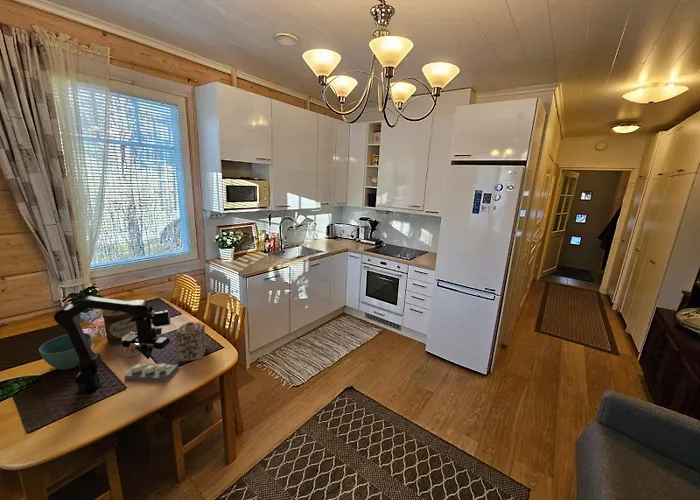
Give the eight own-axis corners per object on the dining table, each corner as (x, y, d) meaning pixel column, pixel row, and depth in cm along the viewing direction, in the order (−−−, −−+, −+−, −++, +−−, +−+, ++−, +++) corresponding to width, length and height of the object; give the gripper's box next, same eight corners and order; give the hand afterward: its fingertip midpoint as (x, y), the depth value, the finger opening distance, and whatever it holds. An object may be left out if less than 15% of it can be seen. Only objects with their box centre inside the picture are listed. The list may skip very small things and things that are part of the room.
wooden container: (114, 348, 160) (108, 311, 155) (102, 340, 167) (96, 304, 162) (144, 337, 172) (140, 302, 167) (132, 329, 180) (127, 295, 174)
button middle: (151, 377, 138) (150, 370, 137) (143, 376, 138) (142, 370, 137) (157, 371, 142) (156, 365, 141) (149, 371, 142) (148, 364, 141)
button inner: (138, 376, 138) (137, 369, 137) (130, 375, 138) (129, 369, 138) (144, 370, 142) (144, 364, 141) (136, 370, 142) (135, 364, 141)
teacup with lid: (124, 359, 152) (120, 338, 149) (123, 350, 158) (119, 331, 156) (152, 351, 159) (149, 331, 156) (149, 343, 166) (147, 324, 163)
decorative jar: (177, 362, 151) (173, 330, 147) (183, 349, 162) (180, 319, 158) (202, 359, 154) (200, 328, 150) (207, 347, 165) (204, 317, 161)
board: (165, 382, 137) (165, 378, 136) (125, 379, 137) (124, 375, 137) (178, 368, 146) (178, 364, 146) (140, 366, 147) (140, 362, 146)
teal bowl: (101, 361, 149) (97, 339, 146) (52, 382, 134) (47, 358, 131) (86, 350, 158) (82, 329, 155) (38, 367, 142) (33, 345, 140)
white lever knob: (163, 375, 138) (163, 368, 137) (155, 374, 138) (154, 368, 137) (169, 370, 142) (168, 363, 141) (161, 369, 142) (160, 363, 141)
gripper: (175, 320, 142) (178, 349, 146) (137, 318, 142) (141, 347, 146) (160, 332, 131) (164, 363, 135) (118, 330, 132) (123, 361, 135)
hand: (148, 358), depth 138 cm, fingers closed
